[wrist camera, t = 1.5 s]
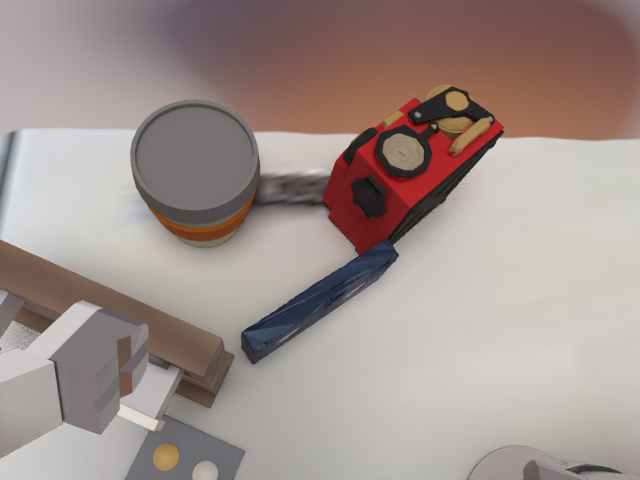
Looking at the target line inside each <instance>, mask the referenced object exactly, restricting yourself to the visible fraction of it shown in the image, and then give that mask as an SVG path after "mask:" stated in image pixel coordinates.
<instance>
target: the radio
mask: <svg viewBox="0 0 640 480" xmlns="http://www.w3.org/2000/svg"><path fill="white" fill-rule="evenodd" d="M503 128H504V127H503V126H502V125H501V124H500V123H499V122H498V121H497V120H496V119H495V118H494V116H493V115H492V114H491V113H489V112H488V111H486V110H485V109H484V108H482V107H481V106H480V105H478V104H477V103H476V102H475V101H474V99H473V98H472V97H471V95H470V94H469V93H468V92H467V91H465V90H463V89H461V88H458V87H456V86H450V85H442V86H438V87H436V88H434V89H433V90H431V91H430V92H429V94H428V95H427V97H426V98H425V100H424V102H423V103H421V102H420V101H419V100H418V99H416V98H413V99H412V100H411V101H410V102H408V103H407V104H406V105H404V106H403V107H402V108H400V109H399V110H398V111H396V112H395V113H394V114H392V115H391V116H390V117H389V118H387V119H386V120H384V121H383V122H382V123H381V124H379V125H378V126H377V127H375V128H373V127H372V128H369V129H367V130H366V131H364V132H362V133H360V134H359V135H358V136H357V137H356V138H355V139H353V140H352V142H351V144H350V145H349V147H348V148H347V149H346V150H345V151H344V152H343V153H342V154H341V155H340V157H339V158H338V159H337V160H336V162H335V165H334V168H333V170H332V173H331V176H330V179H329V182H328V185H327V187H326V190H325V193H324V196H323V199H322V200H323V201H324V202H325V203H326V204H327V205H328V207H329V208H330V209H331V212H330V214H329V218H330V219H331V221H332V222H333V223H334V224H335V225H336V226H337V227H338V228H339V229H340V230H341V231H342V232H343V233H344V234H345V235H346V237H347V238H348V239H349V240H350V241H351V242H352V243H353V244H354V245H355V246H356V249H355V251H356V252H357V253H358V254H359V255H361V254H362V253H364V252H365V251H368V250H370V249H371V248H372V247H374V246H375V245H377V244H379V243H380V242H381V241H382V240H384V239H386V238H387V239H388V240H389V242H390V243H391V244H392V245H393V244H394V243H396V242H397V241H398V240H399V239H400V238H401V237H402V236H404V235H405V234H406V233H407V232H408V231H409V230H410V229H412V228H413V227H414V226H415V225H416V224H417V223H418V222H420V221H421V220H422V219H423V218H424V217H425V216H426V215H428V214H429V213H430V212H431V211H432V210H433V209H434V208H436V207H437V206H438V205H439V204H442V203H443V202H444V201H445V200H446V197H447V196H448V195H449V194H450V193H451V192H452V190H453V189H454V188H455V187H456V186H457V185H458V184H459V183H460V181H461V180H462V179H463V178H464V177H465V176H466V175H467V174H468V172H469V171H470V170H471V169H472V168H473V167H474V166H475V164H476V163H477V162H478V161H479V160H480V159H481V158H482V157H483V155H484V154H485V153H486V152H487V151H488V150H489V149H491V148H492V147H494V145H495V144H496V141H497V140H498V139H499V137H500V136H501V135H502V134H503V133H504V131H503V130H502V129H503Z"/></svg>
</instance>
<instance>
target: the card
mask: <svg viewBox="0 0 640 480" xmlns="http://www.w3.org/2000/svg"><path fill="white" fill-rule="evenodd" d="M161 420H164V421H166V422H165V424H164V426H163V428H162V430H161V431H152V430H150V431H149V433H148V435H147V437H146V439H145V441H144V443H143V444H142V446H141V448H140V450H139V452H138V454H137V456H136V458H135V460H134V462H133V464H132V466H131V468H130V470H129V472H128V474H127V476H126V478H125V480H233V478H234V476H235V473H236V471H237V469H238V466H239V464H240V462H241V459H242V457H243V455H244V452H245V451H243V450H241V449H239V448H236V447H234V446H232V445H230V444H227V443H225V442H223V441H221V440H218V439H216V438H214V437H212V436H209V435H207V434H205V433H203V432H200V431H198V430H196V429H194V428H192V427H189V426H187V425H185V424H183V423H180V422H178V421H176V420H174V419H171V418H169V417H167V416H165V415H163V416H162V418H161Z"/></svg>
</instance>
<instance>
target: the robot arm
mask: <svg viewBox="0 0 640 480" xmlns="http://www.w3.org/2000/svg"><path fill="white" fill-rule="evenodd" d="M148 337H149V333H148V325H146V324H144V323H142V322H139V321H137V320H134V319H131V318H129V317H126V316H123V315H121V314H118V313H116V312H113V311H110V310H108V309H105V308H102V307H99V306H97V305H94V304H91V303H88V302H86V301H83V300H82V301H79V302H77V303H75V304H73V305H72V306H71V307H70V308H69V309H68V310H67V311H66V312H65V313H63V314H62V315H61V316H60V317H59V318H58V319H57V320H56V321H55V322H54V323H53V324H52V325H50V326H49V327H48V328H47V329H46V330H45V331H44V332H43V333H42V334H41V335H40V336H39V337H37V338H36V339H35V340H34V341H33V342H32V343H31V344H30V345H29V346H28V347H27V348H26V349H24V350H21V349H18V348H16V349H13V350H10V351H8V352H5V353H2V354H0V458H2V457H4V456H6V455H8V454H10V453H11V452H13V451H15V450H17V449H19V448H20V447H22V446H24V445H26V444H28V443H29V442H31V441H33V440H35V439H37V438H39V437H40V436H42V435H44V434H46V433H48V432H49V431H51V430H53V429H55V428H57V427H58V426H60V425H62V424H63V422H65V423H68V424H71V425H74V426H77V427H80V428H82V429H85V430H88V431H91V432H94V433H97V434H100V435H101V434H102V433H103V431H104V430H105V429H106V427H107V426H108V425H109V423H110V422H111V421H112V419H113V418H114V417H115V415H116V414H117V413H118V411H119V410H120V398H122V397H124V396H127V395H129V394H131V393H133V391H134V390H135V389H136V387H137V386H138V384H139V383H140V381H141V379H142V377H143V375H144V373H145V371H146V368H147V363H148V356H149V351H148V350H147V348H146V347H145V345H144V344H143V343H144V342H145V341H146V339H147V338H148ZM468 480H640V476H637V475H629V474H623V473H621V472H619V471H616V470H614V469H611V468H607V467H601V466H595V465H589V464H586V463H582V462H568V461H563V462H557V461H555V460H553V459H552V458H551V457H549V456H548V455H546V454H544V453H542V452H540V451H538V450H535V449H532V448H529V447H523V446H510V447H505V448H501V449H498V450H496V451H494V452H492V453H490V454H489V455H487V456H486V457H485V458H484V459H482V460H481V461H480V462H479V463H478V465H477V466H476V467H475V468H474V470H473V471H472V473H471V475H470V477H469V478H468Z"/></svg>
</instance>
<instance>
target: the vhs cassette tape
mask: <svg viewBox="0 0 640 480" xmlns="http://www.w3.org/2000/svg"><path fill="white" fill-rule="evenodd" d="M397 257H399V254H398V253H397V252H396V251H395V249H394V247H393V246H392V244H391V243H390V242H389V240H388V239H387V238H386V239H384V240H382V241H381V242H380V243H379V244H377V245H375V246H374V247H372V248H371V249H370V250H368V251H365V252H364V253H362V254H361V255H359V256H358V257H356V258H355V259H353V260H352V261H350V262H349V263H348V264H347V265H345V266H344V267H342V268H340V269H338V270H337V271H335V272H333V273H331V274H330V275H329V276H327V277H325V278H324V279H322V280H320V281H319V282H317V283H315V284H314V285H313V286H311V287H310V288H308V289H307V290H306V291H304V292H302V293H300V294H299V295H297V296H296V297H295V298H293V299H292V300H290V301H289V302H288V303H287V304H284V305H283V306H281V307H280V308H278V309H277V310H276V311H274V312H272V313H271V314H269V315H268V316H266V317H264V318H263V319H262V320H260V321H259V322H257V323H255V324H254V325H252V326H250V327H248V328H247V329H245V330H244V331H243V332H242V333H241V341H242V346H241V348H242V349H243V350H244V351H245V353H246V355H247V357H248V359H249V360H250V361H251V363H252V364H253V365H254V364H255V363H257V362H258V361H259V360H261V359H262V358H264V357H265V356H267V355H268V354H269V353H271V352H273V351H274V350H276V349H277V348H279V347H280V346H282V345H283V344H284V343H286V342H287V341H289V340H290V339H292V338H293V337H295V336H296V335H298V334H299V333H301V332H302V331H304V330H305V329H306V328H308V327H310V326H311V325H313V324H314V323H315V322H317V321H318V320H320V319H321V318H323V317H324V316H326V315H327V314H329V313H330V312H332V311H333V310H335V309H336V308H337V307H339V306H340V305H342V304H343V303H345V302H346V301H348V300H349V299H351V298H352V297H354V296H355V295H356V294H358V293H359V292H361V291H362V290H364V289H365V288H367V287H368V286H370V285H371V284H372V283H374V282H375V281H377V280H378V279H379V278H380V277H381V275H383V274H384V272H385V271H386V270H387V269H388V268H389V267H390V266H391V265H392V263H393V262H395V261H396V259H397Z"/></svg>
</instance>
